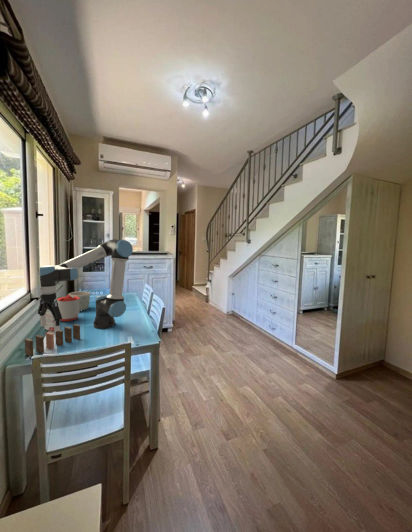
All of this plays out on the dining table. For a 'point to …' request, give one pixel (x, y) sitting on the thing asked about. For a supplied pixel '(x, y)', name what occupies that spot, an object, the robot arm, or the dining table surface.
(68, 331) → the domino
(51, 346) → the domino
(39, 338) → the domino
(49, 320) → the ink cartridge box
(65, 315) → the citrus juicer
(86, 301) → the planter
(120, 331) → the dining table surface
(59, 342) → the domino
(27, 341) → the domino
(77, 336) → the domino
